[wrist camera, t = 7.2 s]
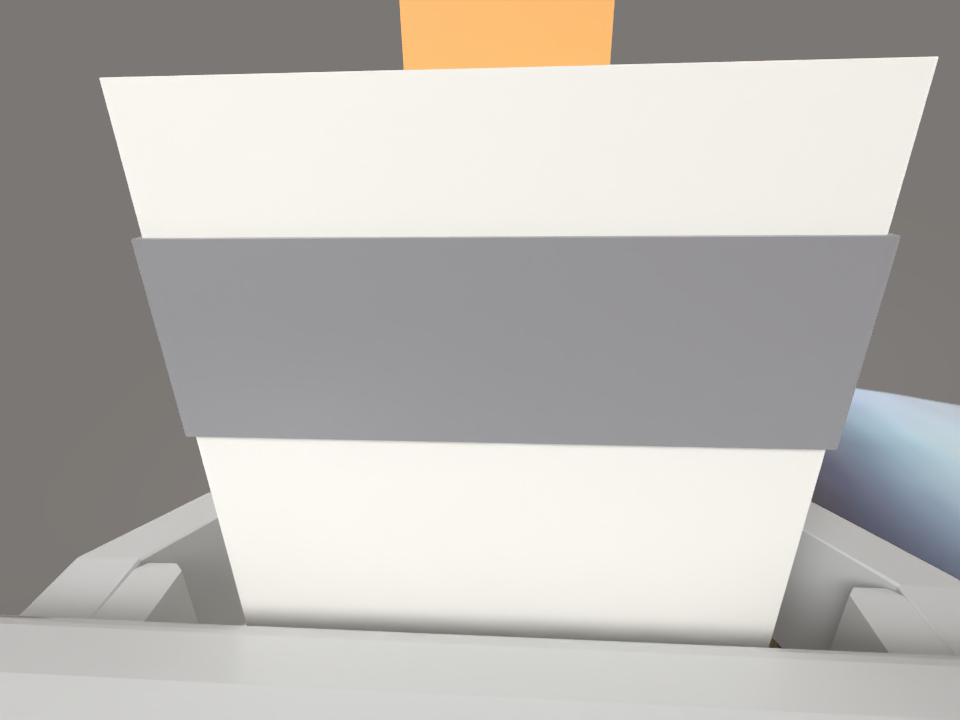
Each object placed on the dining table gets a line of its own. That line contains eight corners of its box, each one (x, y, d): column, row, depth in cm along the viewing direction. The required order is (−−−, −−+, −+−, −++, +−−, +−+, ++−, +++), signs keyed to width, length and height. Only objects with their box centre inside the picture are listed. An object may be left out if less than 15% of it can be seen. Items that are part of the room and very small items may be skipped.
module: (659, 1048, 9) (1008, -129, 3) (348, 1019, 9) (41, -83, 3) (598, 651, 15) (661, 47, 9) (419, 643, 15) (366, 55, 9)
